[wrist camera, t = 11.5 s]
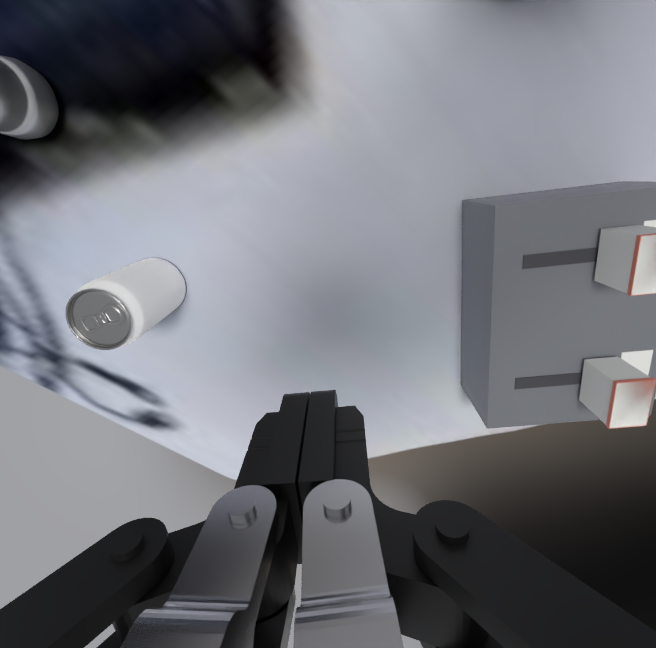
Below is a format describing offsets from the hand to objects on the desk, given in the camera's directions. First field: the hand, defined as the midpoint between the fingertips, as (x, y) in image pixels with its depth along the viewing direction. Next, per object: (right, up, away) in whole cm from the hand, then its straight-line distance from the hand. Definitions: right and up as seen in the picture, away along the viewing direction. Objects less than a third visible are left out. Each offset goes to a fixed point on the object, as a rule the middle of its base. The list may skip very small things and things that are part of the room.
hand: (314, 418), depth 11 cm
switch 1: (+25, +9, +21) cm, 34 cm away
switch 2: (+26, -2, +26) cm, 37 cm away
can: (-19, +7, +33) cm, 39 cm away
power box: (+24, +6, +32) cm, 40 cm away
